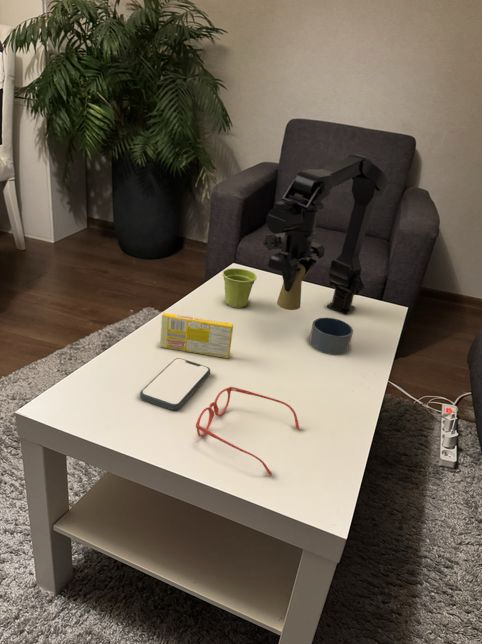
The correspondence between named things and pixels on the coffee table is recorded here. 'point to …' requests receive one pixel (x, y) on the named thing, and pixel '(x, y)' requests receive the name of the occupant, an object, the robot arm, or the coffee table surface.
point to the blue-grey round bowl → (330, 335)
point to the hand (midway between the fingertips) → (291, 288)
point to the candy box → (196, 335)
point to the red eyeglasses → (216, 409)
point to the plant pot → (238, 286)
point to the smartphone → (175, 384)
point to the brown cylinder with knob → (292, 293)
